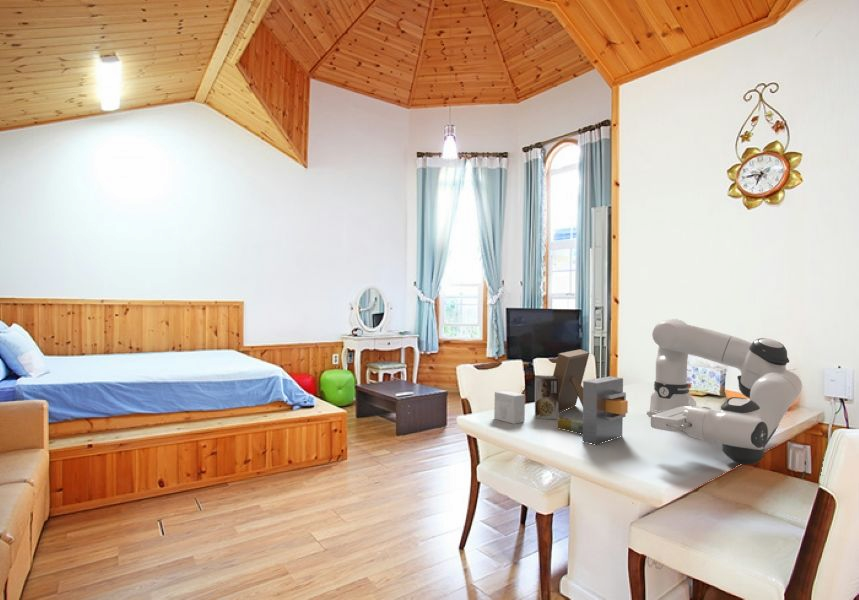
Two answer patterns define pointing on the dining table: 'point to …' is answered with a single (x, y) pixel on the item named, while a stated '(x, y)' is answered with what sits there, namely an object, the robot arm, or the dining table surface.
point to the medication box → (570, 425)
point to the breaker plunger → (616, 406)
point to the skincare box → (509, 407)
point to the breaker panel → (601, 409)
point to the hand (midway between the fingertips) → (650, 413)
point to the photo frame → (570, 377)
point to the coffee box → (546, 397)
